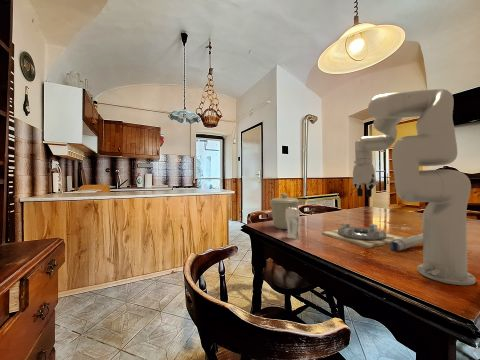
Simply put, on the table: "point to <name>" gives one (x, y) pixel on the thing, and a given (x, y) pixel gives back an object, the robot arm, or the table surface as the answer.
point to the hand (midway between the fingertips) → (364, 196)
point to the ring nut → (361, 232)
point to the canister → (282, 209)
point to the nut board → (363, 243)
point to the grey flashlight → (406, 242)
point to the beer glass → (292, 222)
